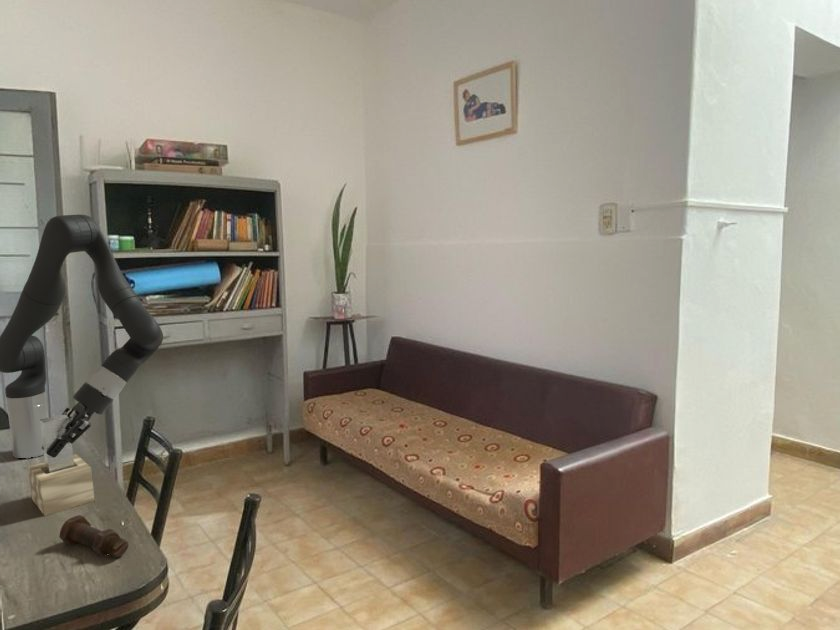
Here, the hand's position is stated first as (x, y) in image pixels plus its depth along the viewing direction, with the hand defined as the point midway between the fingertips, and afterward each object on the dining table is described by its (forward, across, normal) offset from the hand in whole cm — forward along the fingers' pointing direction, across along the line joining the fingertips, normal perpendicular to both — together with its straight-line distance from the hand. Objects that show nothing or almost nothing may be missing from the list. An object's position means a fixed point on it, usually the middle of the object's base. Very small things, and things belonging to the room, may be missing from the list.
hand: (47, 452), depth 135 cm
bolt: (+8, +30, +9) cm, 32 cm away
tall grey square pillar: (+3, 0, +6) cm, 7 cm away
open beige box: (+7, 0, +10) cm, 12 cm away
